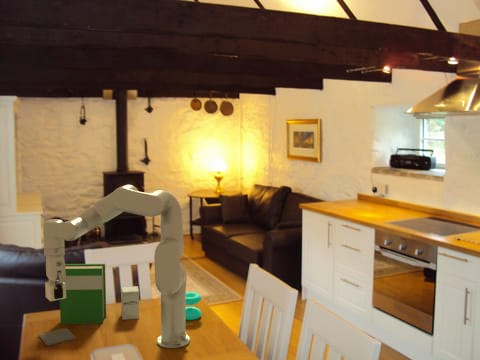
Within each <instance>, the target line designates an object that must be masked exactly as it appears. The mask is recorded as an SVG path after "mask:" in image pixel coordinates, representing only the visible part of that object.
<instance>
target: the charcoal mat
mask: <svg viewBox="0 0 480 360" xmlns="http://www.w3.org/2000/svg"><path fill="white" fill-rule="evenodd" d="M38 337H39V338H40V339H41V340H42V341H43V343H44V344H45V345H46V346H47V347H50V346H54V345H57V344H61V343H65V342H68V341H73V340H76V338H77V337H76V335H75V334H73V333H72V332H71V331H70V329H68V328H67V327H63V328H61V329H60V328H59V329H55V330H52V331H48V332H43V333H39V334H38Z"/></svg>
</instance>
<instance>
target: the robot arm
mask: <svg viewBox="0 0 480 360" xmlns="http://www.w3.org/2000/svg"><path fill="white" fill-rule="evenodd" d="M124 212H125V213H129V214H133V215H138V216H143V217H149V218H155V217H157V216H159V217H160V241H159V243H158V244H157V245H156V247H155V250H154V256H153V257H154V283H155V286H156V289H157V291H159V293H160V332H161V333H160V336H158V337H157V340H156V341H157V343H156V344H157V345H158V346H160V347H162V348H167V349H179V348H182V347H185V346H187V345H188V344H189V343H190V340H191V339H190V336H189V335H188V334H187V331H186V327H187V326H186V325H187V324H186V323H187V322H186V321H187V320H186V309H185V307H186V305H185V303H186V291H187V278H188V277H187V270H186V267H185V266H184V265H183V264H182V263H181V257H183V254H184V251H185V244H184V243H185V241H184V226H183V223H184V221H183V211H182V207H181V204H180V202H179V201H178V199H177V198H176V197H175V196H174V195H173V194H172V193H170V192H169V191H166V190H164V189H163V190H161V189H160V190H159V189H158V190H157V189H156V190H153V191H151V192H150V193H149V192H142V191H139V189H138V188H137V187H136V186H134V185H132V184H125V185H122V186H119V187H118V188H116V189H114V191H113V192H111V193H109V194H108V195H106V196H105V197H103V198H101V199H99V200H98V201H96V202H95V203H94V204H93V206H92V207H90V208H89V209H87V210H86V211H84V212H83V213H81V214H78V215H77V216H76V217H74V218H72V219H69V220H67V221H63V220H62V219H57V218H56V219H55V218H53V219H47V220H45V221H44V222H43V223H42V225H43V226H42V229H43V230H42V231H43V256H44V257H46V258H45V272H46V273H45V274H46V277H47V278H48V281H47V282H50V281H53V282H54V285H55V289H54V299H59V298H63V280H66V270H65V264H66V262H65V254H66V253H65V252H66V251H65V248H66V247H65V241H67V242H72V241H75V240H77V239H78V238H80V237H82V236H84V235H86V234H87V233H88V232H90V231H91V230H93V229H95V228H96V227H98V226H100V225H102V224H103V223H107V222H109V221H110V220H112V219H115V217H118V216H119V215H120V214H122V213H124ZM56 280H58V281H56ZM57 282H59V283H58V284H57Z"/></svg>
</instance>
